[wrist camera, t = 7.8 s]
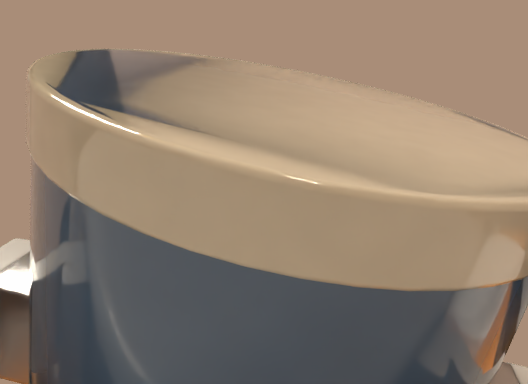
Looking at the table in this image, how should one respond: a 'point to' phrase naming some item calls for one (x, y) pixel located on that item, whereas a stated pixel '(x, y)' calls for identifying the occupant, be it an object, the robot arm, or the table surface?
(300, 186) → the tumbler
